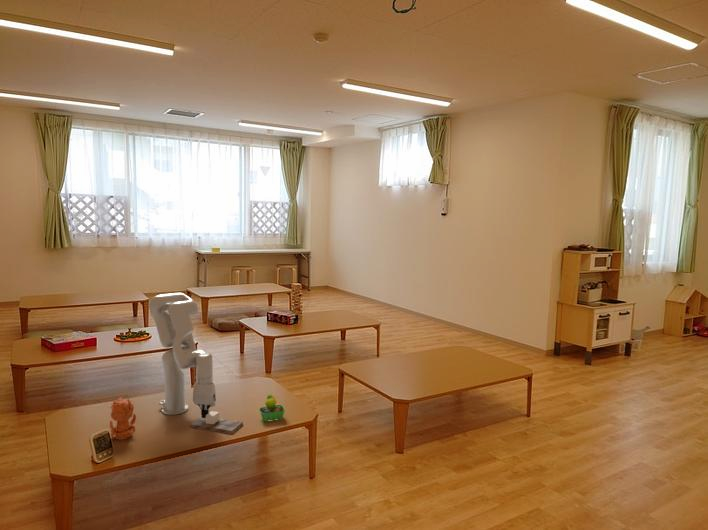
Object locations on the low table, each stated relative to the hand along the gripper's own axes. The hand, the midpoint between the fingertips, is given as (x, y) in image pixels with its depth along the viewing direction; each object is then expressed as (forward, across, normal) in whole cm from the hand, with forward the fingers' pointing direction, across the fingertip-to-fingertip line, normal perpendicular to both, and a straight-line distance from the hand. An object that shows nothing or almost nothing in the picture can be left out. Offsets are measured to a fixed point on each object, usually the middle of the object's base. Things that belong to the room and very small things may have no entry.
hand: (205, 416), depth 225 cm
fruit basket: (+4, +27, +16) cm, 32 cm away
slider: (+2, +4, 0) cm, 4 cm away
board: (+4, +6, 0) cm, 7 cm away
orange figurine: (+4, -28, -22) cm, 36 cm away
